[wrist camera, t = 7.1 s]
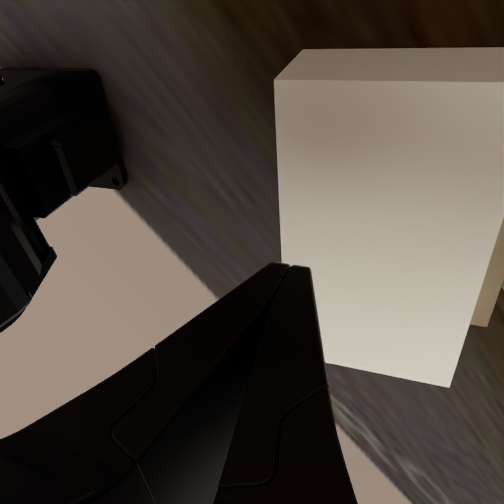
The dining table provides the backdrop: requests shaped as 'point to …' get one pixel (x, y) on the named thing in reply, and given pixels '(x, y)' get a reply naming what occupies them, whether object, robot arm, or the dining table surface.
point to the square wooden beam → (490, 283)
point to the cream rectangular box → (392, 197)
